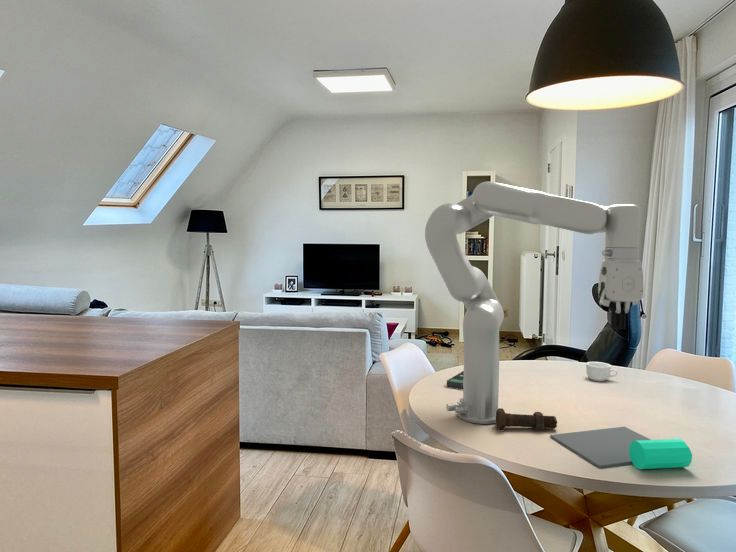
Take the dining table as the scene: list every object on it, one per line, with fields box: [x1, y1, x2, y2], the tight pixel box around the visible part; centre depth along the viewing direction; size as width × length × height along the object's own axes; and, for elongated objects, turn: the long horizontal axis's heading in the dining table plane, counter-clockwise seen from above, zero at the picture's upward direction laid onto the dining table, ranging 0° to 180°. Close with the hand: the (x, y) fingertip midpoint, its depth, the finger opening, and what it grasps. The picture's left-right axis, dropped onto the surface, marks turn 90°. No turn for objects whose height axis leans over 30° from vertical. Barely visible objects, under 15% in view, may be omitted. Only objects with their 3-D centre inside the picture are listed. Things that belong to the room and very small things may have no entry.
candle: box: [629, 438, 693, 470], centre depth 117 cm, size 6×6×12 cm
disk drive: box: [446, 370, 464, 390], centre depth 179 cm, size 10×3×15 cm
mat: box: [549, 426, 652, 469], centre depth 128 cm, size 22×18×1 cm
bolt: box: [495, 407, 558, 432], centre depth 139 cm, size 6×5×15 cm
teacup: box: [585, 361, 618, 382], centre depth 184 cm, size 10×8×5 cm
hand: (618, 328), depth 134 cm, fingers closed
